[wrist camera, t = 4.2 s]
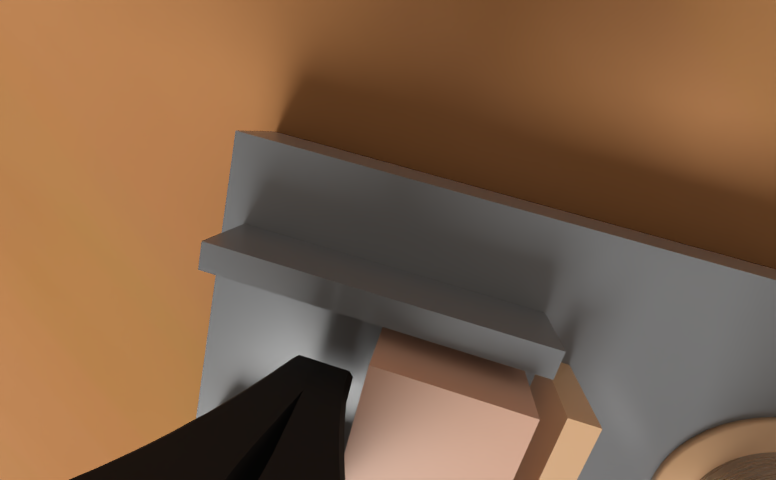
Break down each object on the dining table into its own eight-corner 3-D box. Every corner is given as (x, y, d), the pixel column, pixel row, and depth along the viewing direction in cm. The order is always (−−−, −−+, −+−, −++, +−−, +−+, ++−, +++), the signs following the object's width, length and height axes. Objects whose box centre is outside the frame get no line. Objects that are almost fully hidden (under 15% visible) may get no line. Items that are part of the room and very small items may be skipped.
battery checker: (781, 622, 12) (939, 854, 8) (225, 430, 13) (134, 549, 9) (1012, 334, 9) (1427, 480, 5) (275, 131, 10) (173, 128, 7)
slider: (464, 494, 10) (467, 582, 8) (347, 454, 10) (323, 531, 8) (520, 355, 9) (539, 419, 7) (387, 315, 9) (368, 365, 7)
